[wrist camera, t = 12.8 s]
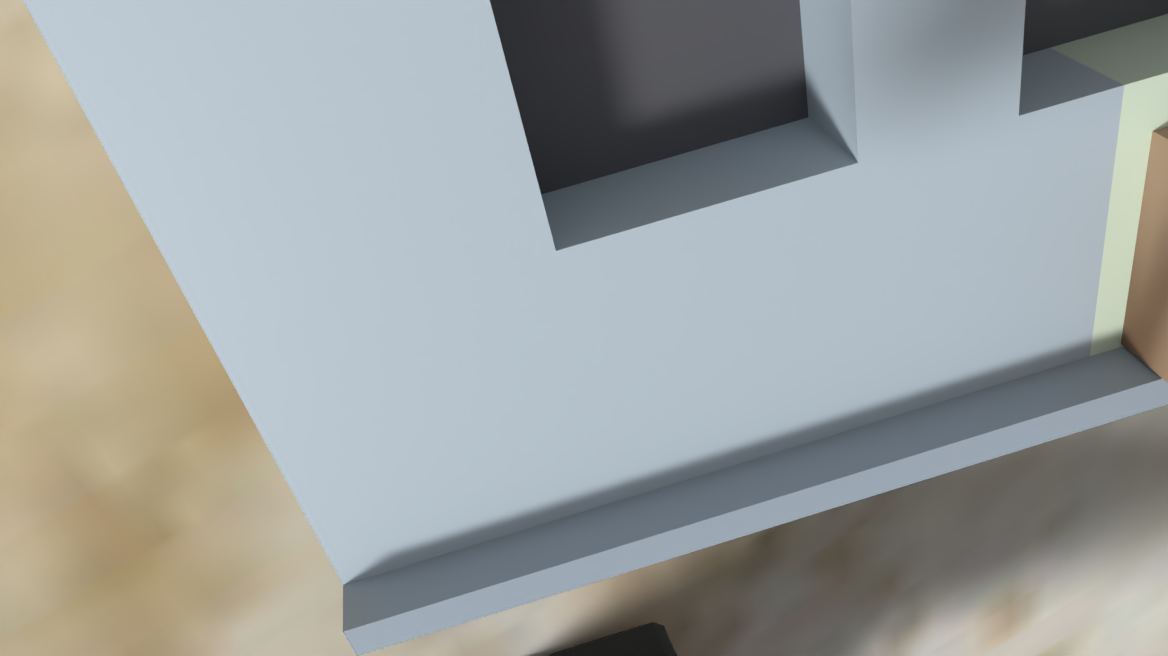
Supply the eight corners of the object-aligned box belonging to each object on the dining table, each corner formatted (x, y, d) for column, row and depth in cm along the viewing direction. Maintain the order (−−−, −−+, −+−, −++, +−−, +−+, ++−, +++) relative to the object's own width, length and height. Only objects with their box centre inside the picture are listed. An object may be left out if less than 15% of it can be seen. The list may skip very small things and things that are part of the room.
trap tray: (1272, 249, 23) (1407, 329, 20) (355, 528, 22) (356, 655, 19) (1437, -412, 16) (1687, -437, 13) (65, -43, 15) (-6, 23, 12)
